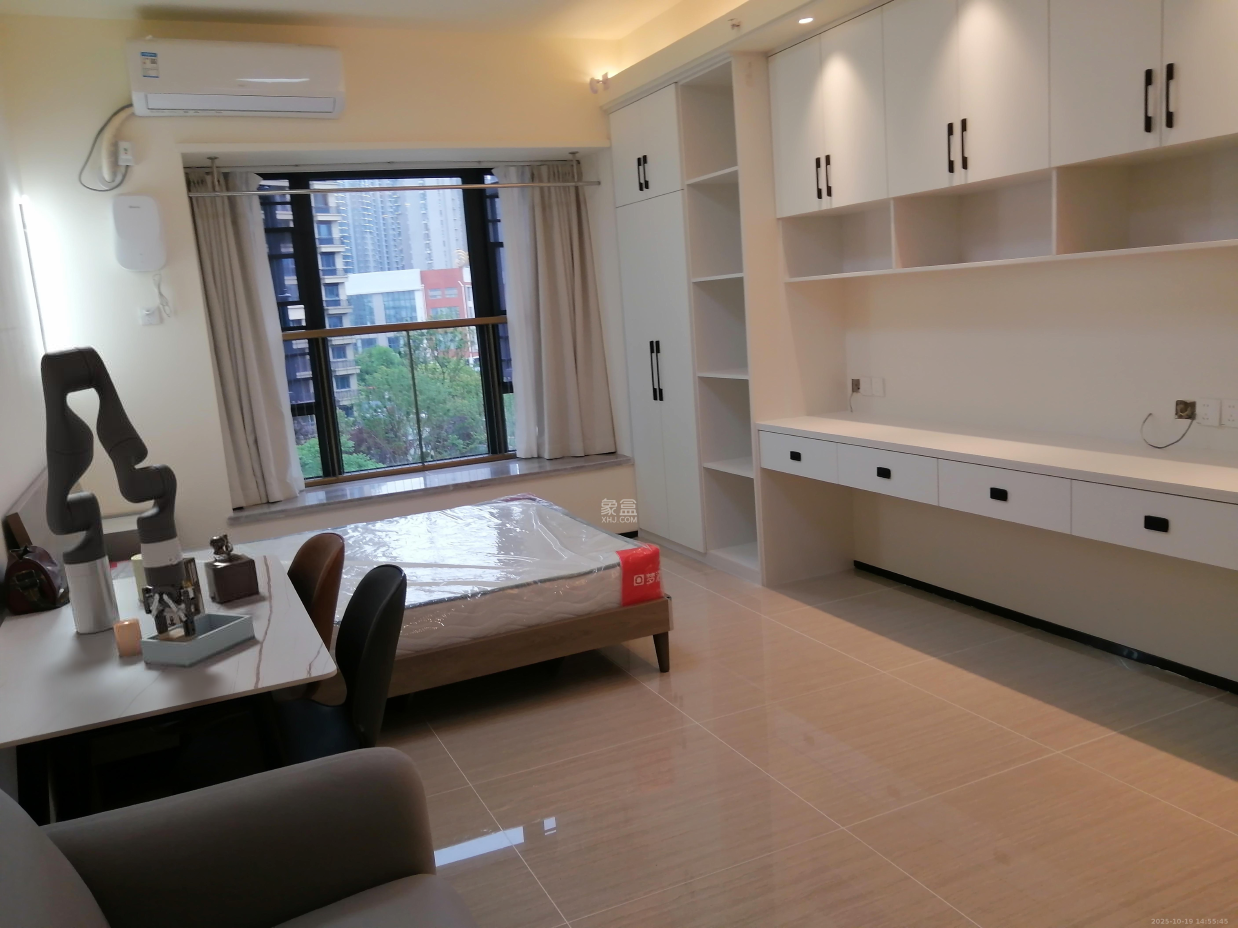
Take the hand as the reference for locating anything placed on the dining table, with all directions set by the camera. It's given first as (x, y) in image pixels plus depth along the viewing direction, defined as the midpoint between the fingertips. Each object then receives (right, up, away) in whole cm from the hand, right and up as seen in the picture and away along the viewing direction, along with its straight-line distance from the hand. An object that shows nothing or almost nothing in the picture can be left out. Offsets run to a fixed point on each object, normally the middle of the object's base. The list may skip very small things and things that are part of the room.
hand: (176, 634), depth 196 cm
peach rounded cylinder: (-14, -6, +8) cm, 17 cm away
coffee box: (-9, -3, +22) cm, 24 cm away
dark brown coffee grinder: (-6, +1, +44) cm, 45 cm away
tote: (+3, -4, +5) cm, 7 cm away
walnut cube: (0, -5, +1) cm, 5 cm away
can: (-31, 0, +54) cm, 62 cm away
